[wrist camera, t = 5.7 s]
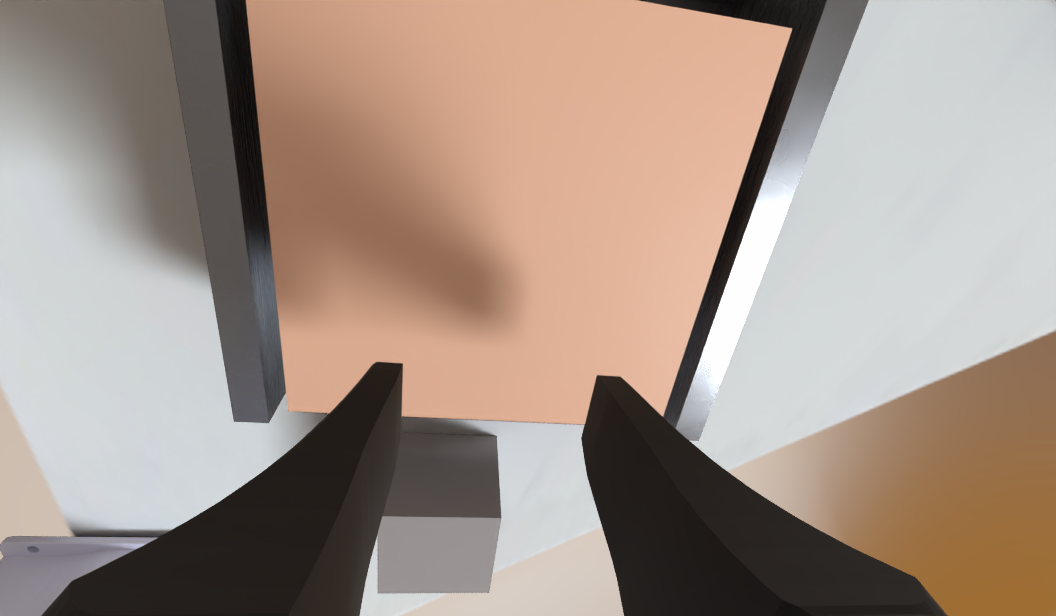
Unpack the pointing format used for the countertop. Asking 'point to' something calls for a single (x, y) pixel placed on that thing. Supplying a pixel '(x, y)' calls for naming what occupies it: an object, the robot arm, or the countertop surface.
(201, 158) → the trapdoor frame
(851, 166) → the countertop surface
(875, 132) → the countertop surface
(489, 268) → the trapdoor
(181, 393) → the countertop surface
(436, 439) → the grey cube
